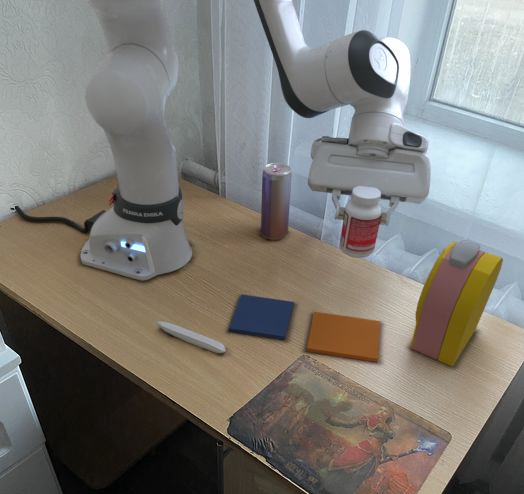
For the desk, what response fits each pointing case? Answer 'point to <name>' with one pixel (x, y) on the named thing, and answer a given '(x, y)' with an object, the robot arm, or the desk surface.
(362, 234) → the pill bottle
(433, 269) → the alarm clock
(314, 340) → the amber mat
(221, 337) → the desk surface
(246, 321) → the blue mat
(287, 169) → the beverage can
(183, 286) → the desk surface
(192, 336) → the pen
